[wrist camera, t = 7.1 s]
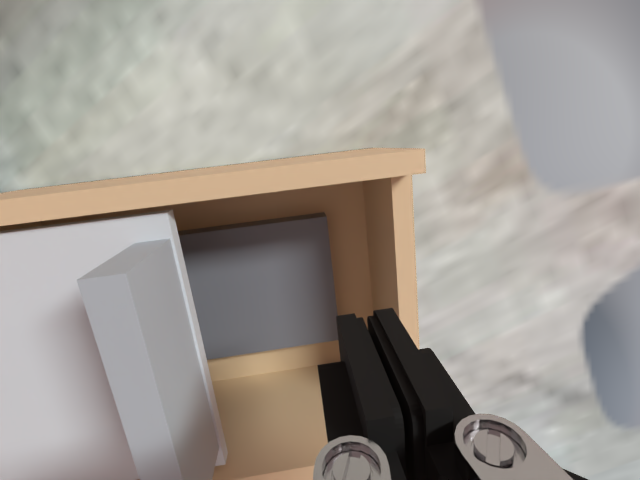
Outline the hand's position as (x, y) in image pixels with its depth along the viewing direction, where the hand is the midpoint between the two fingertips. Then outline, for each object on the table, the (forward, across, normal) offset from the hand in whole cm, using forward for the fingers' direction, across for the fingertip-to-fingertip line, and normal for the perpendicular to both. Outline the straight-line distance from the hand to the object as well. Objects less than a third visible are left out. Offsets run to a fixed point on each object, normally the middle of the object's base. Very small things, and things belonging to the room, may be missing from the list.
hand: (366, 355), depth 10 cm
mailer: (+10, +6, +1) cm, 12 cm away
